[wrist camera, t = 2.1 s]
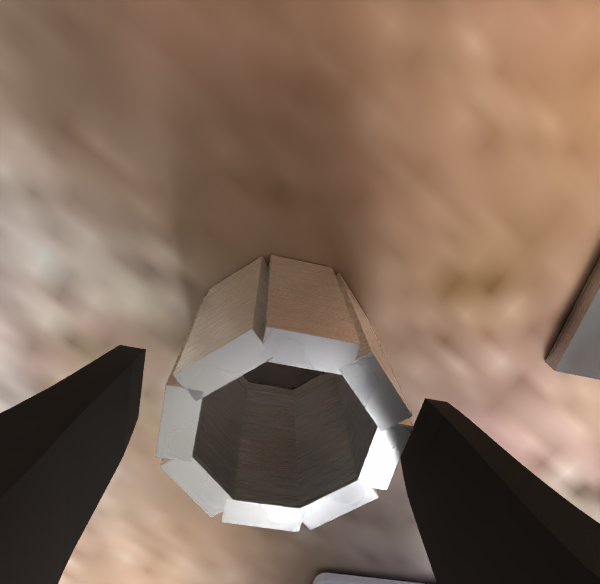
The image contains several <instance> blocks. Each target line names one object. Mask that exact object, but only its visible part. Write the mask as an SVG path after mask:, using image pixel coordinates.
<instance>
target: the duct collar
mask: <svg viewBox="0 0 600 584" xmlns="http://www.w3.org/2000/svg"><path fill="white" fill-rule="evenodd" d="M265 362H272V363H278V364H283V365H289V366H295V367H300V368H306V369H311V370H317V371H323V372H325V373H323V374H321V375H319V376H317V377H316V378H314V379H312V380H310V381H308V382H306V383H305V384H303V385H301V386H299V387H297V388H295V389H294V390H292V389H287V388H281V387H275V386H269V385H263V384H257V383H252V382H248V381H247V380H246V379H245V377H244V376H243V375H244V374H246V373H247V372H249V371H251V370H253V369H254V368H256V367H258V366H260V365H261V364H263V363H265ZM411 416H412V414H411V412H410V409H409V407H408V405H407V403H406V401H405V399H404V396H403V394H402V392H401V390H400V388H399V385H398V383H397V381H396V379H395V377H394V374H393V372H392V370H391V368H390V366H389V363H388V361H387V359H386V357H385V355H384V353H383V350H382V348H381V346H380V344H379V342H378V339H377V337H376V335H375V333H374V331H373V328H372V326H371V324H370V322H369V320H368V318H367V316H366V315H365V313H364V312H363V310H362V308H361V307H360V305H359V303H358V302H357V300H356V299H355V297H354V295H353V294H352V292H351V290H350V289H349V287H348V286H347V284H346V282H345V281H344V279H343V277H342V276H341V274H340V273H338V274H336V275H335V274H334V271H333V268H332V267H327V266H322V265H318V264H313V263H308V262H304V261H299V260H294V259H290V258H285V257H280V256H276V255H271V257H270V262H269V266H268V264H267V263H266V261H265V260H264V259H263V257H262V256H261V257H260V258H258V259H256V260H255V261H253V262H251V263H250V264H248V265H247V266H245V267H243V268H242V269H240V270H238V271H237V272H235V273H234V274H232V275H230V276H229V277H227V278H225V279H224V280H222V281H221V282H219V283H217V284H216V285H214V286H212V287H211V288H210V289H209V292H208V294H207V295H205V297H204V299H203V301H202V304H201V306H200V308H199V310H198V313H197V315H196V317H195V320H194V322H193V324H192V326H191V329H190V331H189V333H188V336H187V338H186V340H185V342H184V345H183V347H182V349H181V352H180V354H179V356H178V358H177V361H176V363H175V365H174V368H173V370H172V372H171V374H170V377H169V379H168V381H167V384H166V388H165V395H164V402H163V409H162V417H161V424H160V431H159V438H158V445H157V452H156V457H160V458H162V461H161V464H160V468H161V469H162V470H163V471H164V472H165V473H166V474H167V475H168V476H169V477H170V478H171V479H172V480H173V481H174V482H176V483H177V484H178V485H179V486H180V487H181V488H182V489H183V490H184V491H185V492H186V493H187V494H188V495H189V496H190V497H191V498H192V499H193V500H194V501H195V502H196V503H197V504H198V505H199V506H200V507H201V508H202V509H203V510H204V511H205V512H206V513H207V514H208V515H209V516H210V517H213V516H215V515H217V514H219V513H221V512H223V514H222V520H221V522H223V523H230V524H238V525H246V526H254V527H262V528H270V529H278V530H286V531H294V532H299V530H300V527H301V524H302V522H303V523H304V524H305V525H306V526H307V527H308V528H309V530H312V529H314V528H316V527H318V526H320V525H322V524H325V523H327V522H329V521H331V520H333V519H335V518H337V517H339V516H341V515H343V514H346V513H348V512H350V511H352V510H354V509H356V508H358V507H360V506H362V505H364V504H367V503H369V502H371V501H373V500H375V499H377V498H379V496H378V492H377V489H382V490H387V488H388V485H389V483H390V481H391V478H392V476H393V473H394V471H395V469H396V466H397V464H398V461H399V459H400V457H401V454H402V452H403V449H404V447H405V445H406V442H407V440H408V437H409V435H410V433H411V430H412V428H413V425H412V422H411V420H410V418H409V417H411Z"/></svg>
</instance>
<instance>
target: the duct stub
mask: <svg viewBox="0 0 600 584" xmlns="http://www.w3.org/2000/svg"><path fill="white" fill-rule="evenodd" d="M545 362H546V363H547V364H548V365H549V366H550V367H551V368H552V369H554V370H555V371H558V372H563V373H569V374H574V375H579V376H584V377H589V378H594V379H600V257H599V259H598V261H597V263H596V265H595V267H594V269H593V271H592V273H591V274H590V276H589V278H588V280H587V282H586V284H585V286H584V288H583V290H582V292H581V294H580V295H579V297H578V299H577V301H576V303H575V305H574V307H573V309H572V311H571V313H570V315H569V317H568V318H567V320H566V322H565V324H564V326H563V328H562V330H561V332H560V334H559V336H558V338H557V339H556V341H555V343H554V345H553V347H552V349H551V351H550V353H549V355H548V357H547V359H546V360H545Z"/></svg>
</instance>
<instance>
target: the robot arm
mask: <svg viewBox="0 0 600 584" xmlns="http://www.w3.org/2000/svg"><path fill="white" fill-rule="evenodd" d="M145 353H146V349H140V348H134V347H128V346H123V345H119V346H117V347H116V348H114V349H112V350H111V351H109V352H107V353H106V354H104V355H102V356H101V357H99V358H98V359H96V360H94V361H93V362H91V363H90V364H88V365H86V366H85V367H83V368H81V369H80V370H78V371H77V372H75V373H73V374H72V375H70V376H68V377H67V378H65V379H63V380H61V381H60V382H58V383H56V384H55V385H53V386H51V387H49V388H48V389H46V390H44V391H42V392H40V393H38V394H36V395H34V396H33V397H31V398H29V399H27V400H25V401H23V402H21V403H19V404H18V405H16V406H14V407H12V408H10V409H8V410H6V411H4V412H2V413H0V584H58V582H59V580H60V578H61V575H62V573H63V571H64V569H65V566H66V564H67V562H68V560H69V558H70V556H71V554H72V552H73V550H74V548H75V546H76V544H77V542H78V540H79V539H80V537H81V535H82V533H83V531H84V529H85V527H86V525H87V524H88V522H89V520H90V518H91V516H92V514H93V512H94V510H95V509H96V507H97V505H98V503H99V501H100V499H101V497H102V495H103V494H104V492H105V490H106V488H107V486H108V484H109V482H110V480H111V478H112V477H113V475H114V473H115V471H116V469H117V467H118V465H119V463H120V461H121V459H122V457H123V455H124V453H125V450H126V448H127V445H128V443H129V440H130V438H131V435H132V433H133V430H134V427H135V425H136V422H137V419H138V415H139V406H140V397H141V388H142V379H143V370H144V362H145ZM400 459H401V464H402V470H403V476H404V481H405V486H406V490H407V495H408V498H409V501H410V505H411V508H412V511H413V514H414V517H415V520H416V523H417V526H418V529H419V532H420V535H421V538H422V541H423V544H424V546H425V549H426V552H427V555H428V558H429V561H430V564H431V567H432V570H433V573H434V576H435V579H436V582H437V584H600V524H599V523H598V522H597V521H595V520H594V519H592V518H591V517H589V516H588V515H587V514H585V513H584V512H582V511H581V510H579V509H578V508H577V507H575V506H574V505H573V504H571V503H570V502H569V501H567V500H566V499H565V498H563V497H562V496H561V495H559V494H558V493H557V492H556V491H554V490H553V489H552V488H551V487H549V486H548V485H547V484H545V483H544V482H543V481H542V480H540V479H539V478H538V477H537V476H535V475H534V474H533V473H532V472H530V471H529V470H528V469H527V468H526V467H524V466H523V465H522V464H521V463H520V462H518V461H517V460H516V459H515V458H514V457H512V456H511V455H510V454H509V453H508V452H507V451H505V450H504V449H503V448H502V447H501V446H500V445H498V444H497V443H496V442H495V441H494V440H493V439H491V438H490V437H489V436H488V435H487V434H486V433H484V432H483V431H482V430H481V429H480V428H479V427H478V426H476V425H475V424H474V423H473V422H472V421H470V420H469V419H468V418H467V417H466V416H464V415H463V414H462V413H461V412H460V411H458V410H457V409H456V408H454V407H453V406H452V405H450V404H449V403H447V402H443V401H438V400H432V399H426V398H425V400H424V403H423V405H422V407H421V410H420V412H419V414H418V417H417V419H416V422H415V424H414V426H413V429H412V431H411V433H410V436H409V438H408V441H407V443H406V445H405V448H404V450H403V452H402V455H401V457H400ZM313 584H423V583H414V582H406V581H397V580H388V579H379V578H371V577H362V576H353V575H345V574H336V573H321V574H319V575H318V576H316V578H315V580H314V582H313Z"/></svg>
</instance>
